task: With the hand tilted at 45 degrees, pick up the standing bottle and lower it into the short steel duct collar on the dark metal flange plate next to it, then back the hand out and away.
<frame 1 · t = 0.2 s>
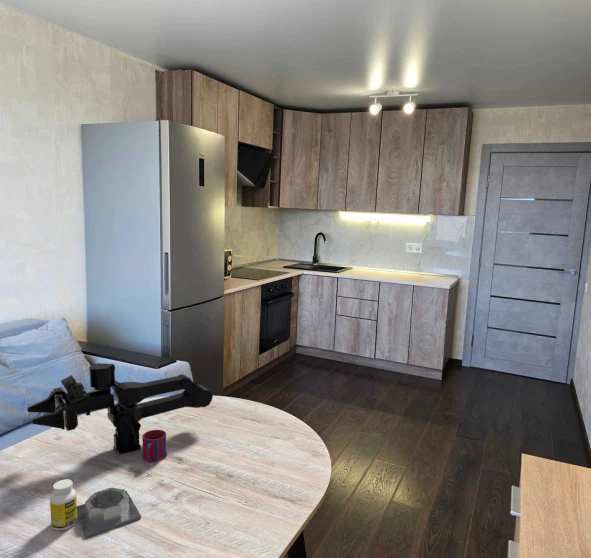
hand: (29, 415, 125), 17 cm above the table, tool horizontal, fingers open, 9 cm apart
duct collar: (107, 514, 110), on the table
mug: (152, 460, 135), on the table
supplement bottle: (64, 524, 107), on the table
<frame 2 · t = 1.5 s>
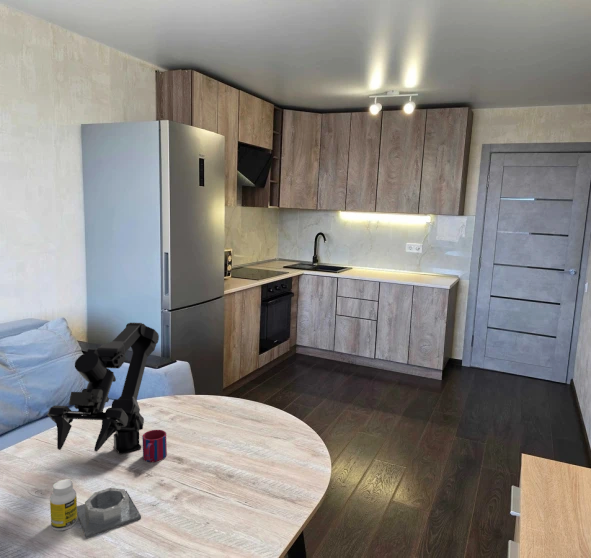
hand: (77, 450, 112), 14 cm above the table, tool tilted 45°, fingers open, 9 cm apart
nothing on the table moved.
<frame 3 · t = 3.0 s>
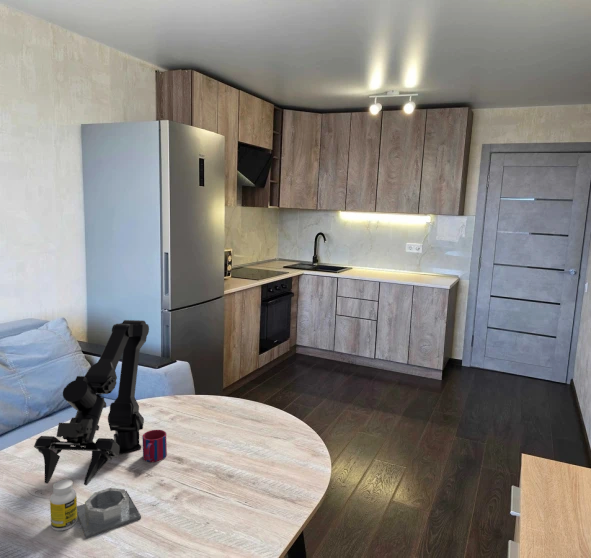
hand: (65, 484, 107), 9 cm above the table, tool tilted 45°, fingers open, 9 cm apart
nothing on the table moved.
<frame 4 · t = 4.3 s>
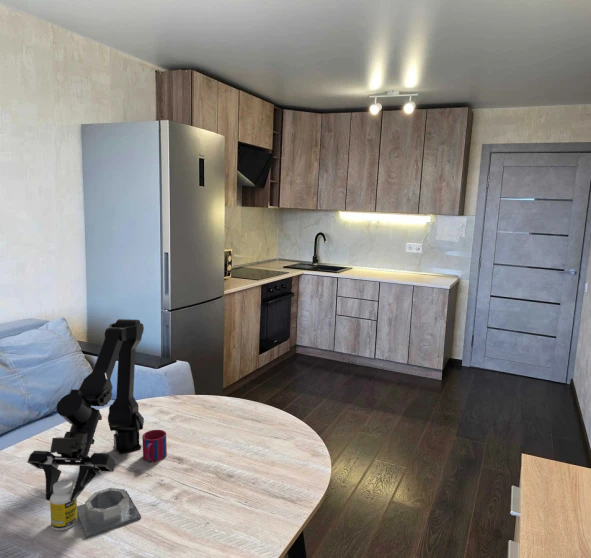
hand: (59, 500, 104), 7 cm above the table, tool tilted 45°, fingers closed on supplement bottle, 5 cm apart
supplement bottle: (64, 524, 107), on the table, touching gripper
everything else where it was.
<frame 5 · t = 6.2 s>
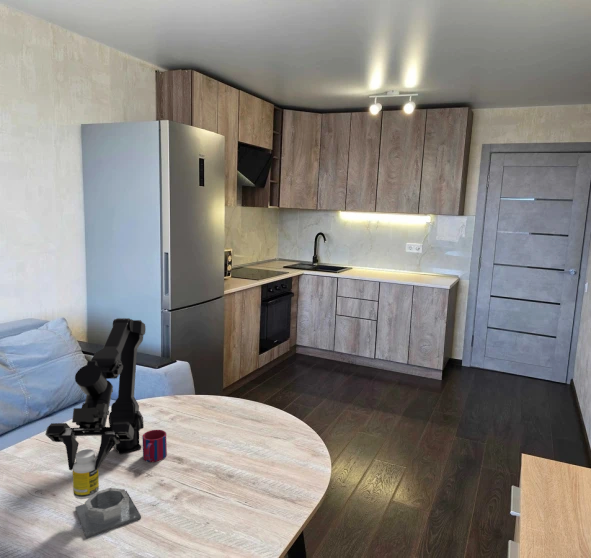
hand: (83, 469, 105), 13 cm above the table, tool tilted 45°, fingers closed on supplement bottle, 5 cm apart
supplement bottle: (86, 493, 108), point 6 cm above the table, touching gripper
everything else where it was.
when the fingers open (8 cm above the table, at t = 8.2 s): supplement bottle stays where it is, resting on duct collar.
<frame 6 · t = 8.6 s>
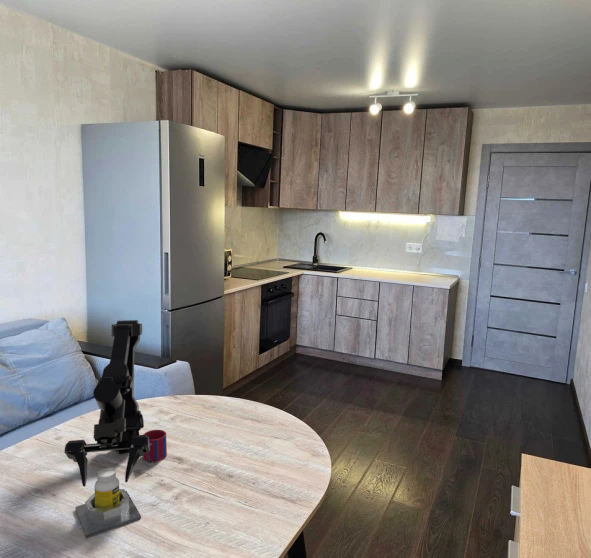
hand: (105, 484, 108), 9 cm above the table, tool tilted 45°, fingers open, 9 cm apart
supplement bottle: (107, 511, 110), point 1 cm above the table, touching duct collar
everything else where it was.
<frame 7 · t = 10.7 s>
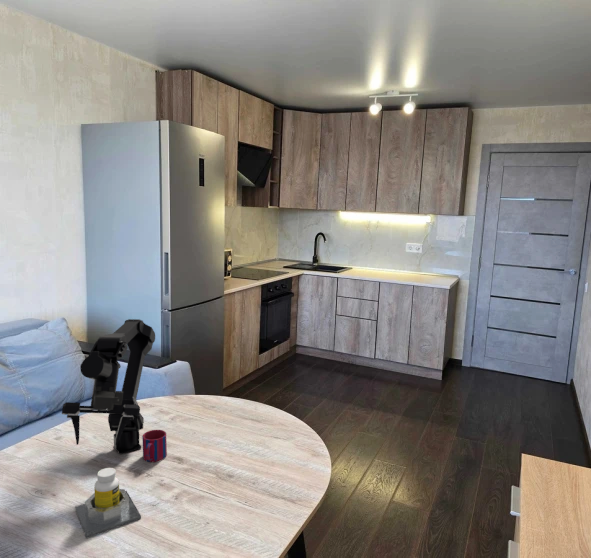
hand: (96, 444, 119), 12 cm above the table, tool tilted 25°, fingers open, 9 cm apart
nothing on the table moved.
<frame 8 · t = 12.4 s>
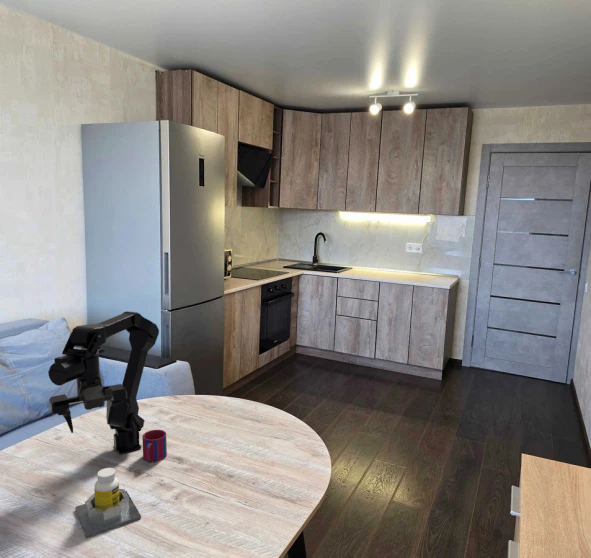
hand: (90, 428, 126), 13 cm above the table, tool pointing down, fingers open, 9 cm apart
nothing on the table moved.
at the end: supplement bottle 0.2 cm off-centre on the duct collar, point 0.6 cm above the duct collar's base; supplement bottle tilted 0°; the gripper is holding nothing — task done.
